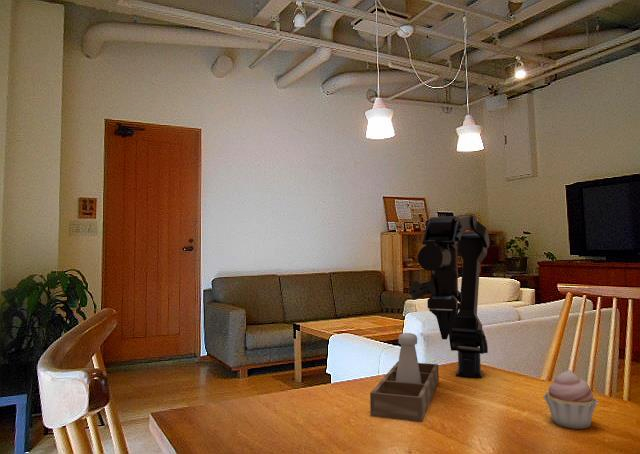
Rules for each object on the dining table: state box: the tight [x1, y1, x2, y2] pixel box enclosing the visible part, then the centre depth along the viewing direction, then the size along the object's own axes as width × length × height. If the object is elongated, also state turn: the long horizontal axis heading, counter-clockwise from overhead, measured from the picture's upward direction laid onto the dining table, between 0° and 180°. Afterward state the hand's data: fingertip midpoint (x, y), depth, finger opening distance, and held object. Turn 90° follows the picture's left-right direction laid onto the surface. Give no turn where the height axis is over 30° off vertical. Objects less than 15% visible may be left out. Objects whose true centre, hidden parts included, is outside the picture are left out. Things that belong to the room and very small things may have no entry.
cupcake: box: [543, 369, 599, 430], centre depth 90 cm, size 9×9×10 cm
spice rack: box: [369, 360, 440, 423], centre depth 107 cm, size 29×10×4 cm, turn 160°
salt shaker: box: [396, 332, 421, 383], centre depth 107 cm, size 6×6×13 cm
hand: (446, 335), depth 111 cm, fingers open, 9 cm apart
